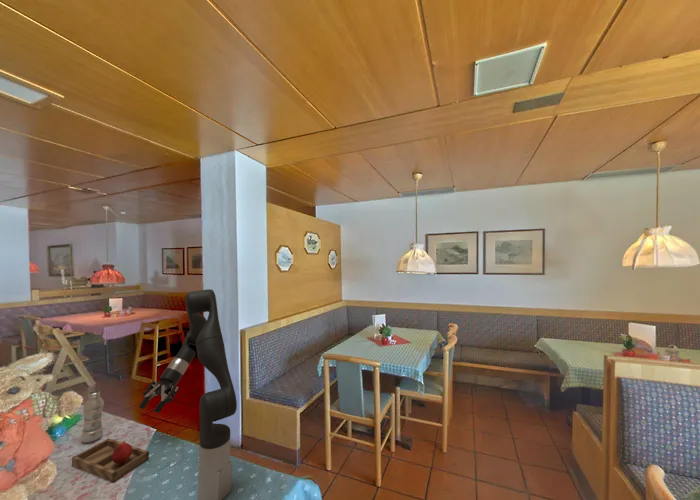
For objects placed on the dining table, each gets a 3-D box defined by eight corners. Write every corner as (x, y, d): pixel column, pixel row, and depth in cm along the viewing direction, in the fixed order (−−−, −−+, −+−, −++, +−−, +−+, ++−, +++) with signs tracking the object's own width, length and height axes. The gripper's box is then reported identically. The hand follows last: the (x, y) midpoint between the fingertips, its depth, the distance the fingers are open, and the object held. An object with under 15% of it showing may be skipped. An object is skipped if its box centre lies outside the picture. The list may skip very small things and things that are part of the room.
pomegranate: (120, 470, 100) (120, 447, 101) (107, 468, 101) (108, 445, 102) (136, 459, 106) (136, 437, 106) (123, 457, 107) (123, 436, 108)
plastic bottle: (84, 437, 120) (87, 390, 120) (104, 433, 122) (107, 387, 123) (77, 447, 114) (80, 397, 114) (99, 442, 116) (101, 393, 117)
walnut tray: (148, 459, 107) (148, 451, 107) (113, 482, 96) (114, 473, 96) (108, 445, 115) (108, 438, 115) (71, 466, 103) (72, 457, 103)
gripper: (157, 365, 124) (129, 403, 113) (182, 369, 120) (155, 410, 109) (168, 372, 129) (142, 410, 118) (192, 377, 125) (167, 416, 113)
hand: (148, 410), depth 113 cm, fingers open, 8 cm apart
